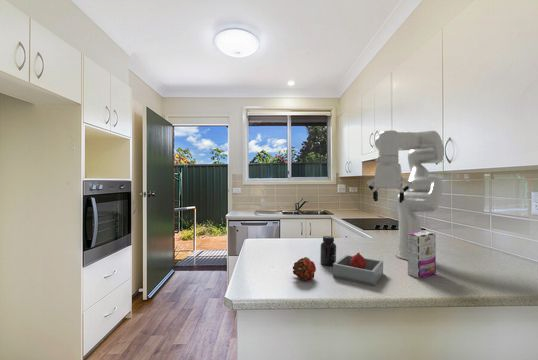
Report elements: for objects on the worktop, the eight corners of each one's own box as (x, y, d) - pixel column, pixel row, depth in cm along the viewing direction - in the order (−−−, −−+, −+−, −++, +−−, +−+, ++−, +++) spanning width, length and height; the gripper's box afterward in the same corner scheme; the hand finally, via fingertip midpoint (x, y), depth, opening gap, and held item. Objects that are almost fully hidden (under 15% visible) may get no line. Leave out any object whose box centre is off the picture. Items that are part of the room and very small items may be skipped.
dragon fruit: (302, 289, 92) (302, 281, 104) (321, 276, 92) (319, 269, 104) (288, 268, 94) (290, 263, 105) (307, 255, 93) (307, 251, 105)
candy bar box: (423, 270, 108) (424, 230, 108) (436, 274, 104) (436, 232, 104) (406, 274, 103) (406, 233, 103) (418, 278, 98) (419, 235, 98)
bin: (346, 266, 112) (346, 254, 112) (383, 273, 104) (383, 261, 104) (332, 276, 100) (332, 263, 100) (373, 286, 91) (373, 272, 91)
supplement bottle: (336, 267, 111) (336, 239, 111) (320, 265, 113) (320, 238, 113) (335, 262, 118) (335, 235, 118) (320, 261, 119) (320, 234, 119)
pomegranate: (348, 270, 105) (348, 250, 105) (361, 269, 105) (362, 250, 105) (354, 275, 99) (354, 254, 99) (368, 275, 99) (368, 254, 99)
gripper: (364, 161, 110) (364, 201, 110) (410, 159, 100) (410, 203, 100) (369, 162, 116) (369, 200, 117) (413, 160, 106) (412, 202, 106)
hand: (388, 201), depth 108 cm, fingers open, 9 cm apart
